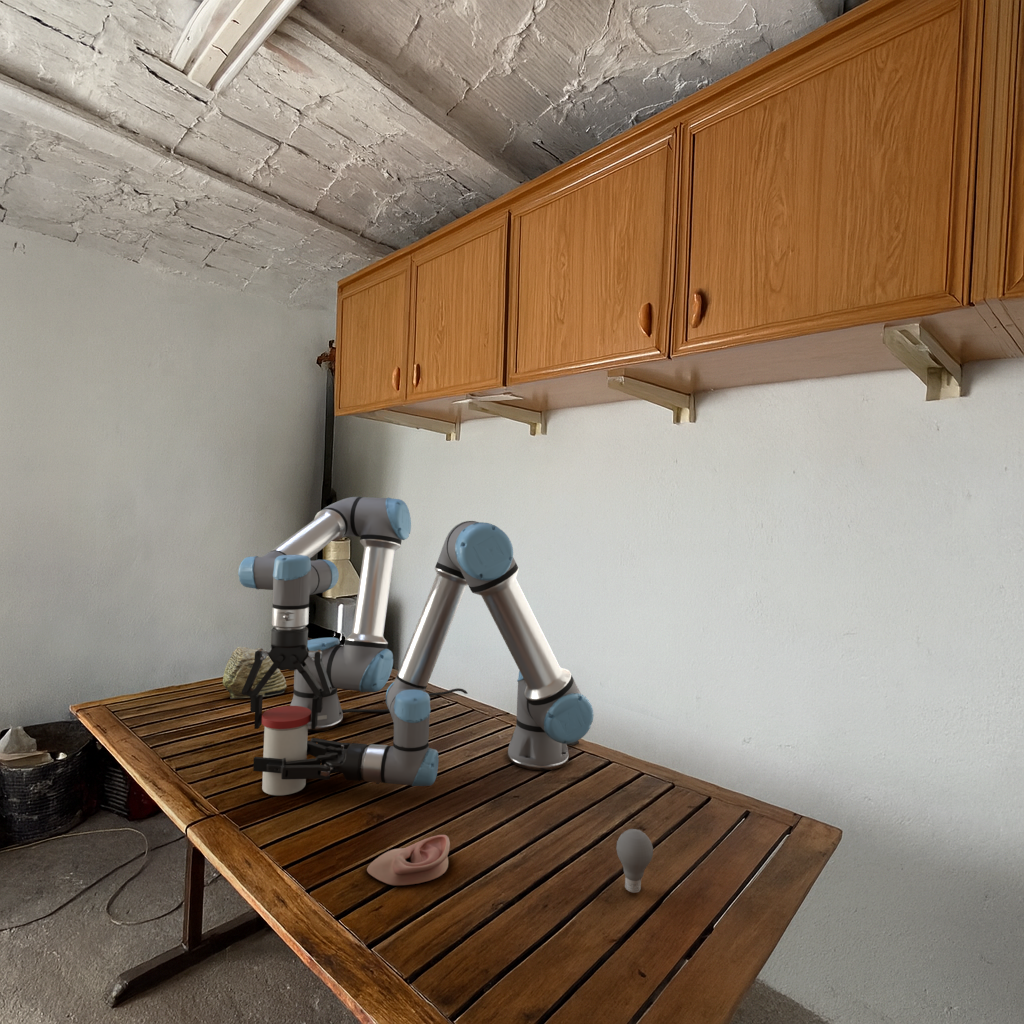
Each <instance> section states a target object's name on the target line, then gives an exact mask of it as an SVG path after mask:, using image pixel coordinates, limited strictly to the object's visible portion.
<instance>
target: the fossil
mask: <svg viewBox="0 0 1024 1024" xmlns="http://www.w3.org/2000/svg"><path fill="white" fill-rule="evenodd" d="M259 649H262V648H260V647H258V648H251V647H247V646H246V647H245V646H238V647H237V648H236V649H235V650H233V651H232V653H231V656H230V657H229V659H228V660H227V663H226V666H225V668H224V671H223V675H222V676H223V677H222V685H223V687H224V688H225V690H226V691H228V693H229V698H230V699H251V698H250V696H248V695H243V694H242V690H243V687H244V685H245V683H246V680H247V678H248V675H249V673H250V671H251V668H252V666H253V664H254V660H255V652H256V651H257V650H259ZM272 664H273V662H272V660H271V659H270V657H269V656H267V657H266V659H265V660H263V662H262V664H261V667H260V669H259V671H258V674H257V676H256V678H255V681H254V683H253V685H252V689H255V687H256V686H257V685H258V683H259V682H260V681H261V679H262V678H263V677H264V675H265V674H266V673H267V671H268V670H269V668H270V667H271V666H272ZM287 687H288V686H287V680H286V678H285V676H284V674H283V673H282V672H281V670H280V669H278V668H277V670H276V671H275V672H274V674H273V675H272V676H271V678H270V679H269V680H268V682H267V683H266V684H265V686H264V687H263V688H262V690H261V691H260V693H259V694H258V695H263V698H264V697H271V696H275V695H281V694H284V693H285V691H286V689H287Z"/></svg>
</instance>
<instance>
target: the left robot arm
mask: <svg viewBox="0 0 1024 1024" xmlns="http://www.w3.org/2000/svg"><path fill="white" fill-rule="evenodd" d="M411 531H412V517H411V512H410V509H409V507H408V505H407V503H406V502H405V501H404V500H402V499H400V498H391V497H370V496H369V497H368V496H350V497H346V498H343V499H340V500H338V501H336V502H333V503H331V504H329V505H328V506H325V507H324V508H323V509H321V510H320V511H318V512H316V514H315V516H314V518H313V519H312V521H310V522H309V523H307V524H306V525H304V526H303V527H302V528H300V529H299V530H298V531H296V532H295V533H293V534H292V535H290V536H289V537H288V538H286V539H284V541H282V542H281V543H279V544H278V545H277V546H275V547H273V548H272V549H271V550H270V551H268V552H267V553H266V554H264V555H262V556H259V555H255V556H246V557H244V558H243V559H242V561H241V562H240V564H239V566H238V574H237V575H238V581H239V582H240V585H242V586H243V587H244V588H249V589H255V590H267V591H272V607H271V625H272V629H270V631H271V632H270V633H271V634H270V648H269V649H263V648H261V649H259V650H257V651H256V652H255V660H254V664H253V666H252V668H251V671H250V673H249V675H248V678H247V680H246V683H245V685H244V687H243V690H242V694H243V695H248V696H250V698H249V699H250V703H249V704H250V706H249V707H250V708H249V709H250V712H251V713H254V725H253V726H254V728H253V729H254V730H258V729H259V728H261V726H262V714H263V699H264V697H263V695H258V694H259V693H260V691H261V690H262V688H263V687H264V686H265V684H266V683H267V682H268V680H269V679H270V678H271V676H272V675H273V674H274V672H275V671H276V670H277V668H278V669H279V670H280V671H286V670H287V671H294V672H293V695H292V696H293V697H292V699H291V702H290V704H289V706H301V707H305V708H308V709H310V710H311V721H310V722H309V723H308V733H316V732H325V731H329V730H332V729H335V728H337V727H339V726H340V725H342V723H343V722H344V714H343V713H378V714H379V713H380V714H382V713H390V711H389V709H388V708H386V709H384V708H383V709H374V708H373V709H370V708H369V709H367V708H365V709H361V708H360V709H359V708H358V709H357V708H348V709H347V708H345V709H343V708H342V706H341V702H340V699H339V695H338V689H339V690H347V691H354V692H356V691H357V692H360V693H377V692H379V691H381V690H382V689H383V688H384V687H385V685H386V684H387V683H388V681H389V679H390V676H391V674H392V670H393V666H394V654H393V651H392V650H390V649H389V648H388V644H389V642H388V641H387V639H385V637H384V632H385V625H386V618H387V611H388V605H389V604H388V603H389V596H390V589H391V580H392V573H393V566H394V561H395V560H394V559H395V553H396V551H398V550H399V549H400V548H401V547H402V541H405V540H407V539H408V538H409V537H410V534H411ZM346 537H357V538H359V543H360V544H361V546H362V547H363V553H362V561H361V568H360V575H359V582H358V588H357V595H356V602H355V609H354V615H353V622H352V628H351V633H350V634H349V635H348V636H347V637H345V639H344V643H343V645H342V644H340V643H341V641H340V639H339V638H338V637H334V636H333V637H318V638H313V639H309V628H308V625H309V618H310V617H309V615H310V613H309V612H310V596H312V595H317V594H323V593H325V592H327V591H330V590H331V589H333V588H334V587H335V586H336V585H337V583H338V581H339V577H340V573H339V569H338V567H337V566H336V564H335V563H334V562H332V561H331V560H328V559H316V560H311V558H313V557H314V556H315V555H317V553H319V552H320V551H322V550H323V549H324V548H325V547H326V546H328V545H329V544H330V543H332V542H336V541H339V540H341V539H343V538H346ZM267 656H269V658H270V659H271V660H272V662H273V664H272V666H271V667H270V668H269V670H268V671H267V673H266V674H265V675H264V677H263V678H262V679H261V681H260V682H259V683H258V685H257V686H256V687H255V689H252V685H253V683H254V681H255V678H256V676H257V674H258V671H259V669H260V667H261V664H262V662H263V660H265V659H266V657H267ZM453 692H454V693H455V692H461V693H463V694H464V695H467V694H468V691H467V690H465V689H463V688H460V687H459V688H457V687H456V688H452V689H448V690H445V691H438V692H427V693H428V694H429V696H430V697H433V696H442V695H444V696H445V695H447V694H451V693H453Z"/></svg>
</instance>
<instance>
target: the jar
mask: <svg viewBox="0 0 1024 1024" xmlns="http://www.w3.org/2000/svg"><path fill="white" fill-rule="evenodd" d="M263 728H264V729H263V753H262V755H263V756H262V757H264V758H277V759H284V758H286V761H295V760H304V759H308V755H307V741H308V737H309V736H308V734H309V732H308V723H307V724H306V725H303V726H300V727H296V728H290V729H273V728H268V727H265V726H263ZM261 782H262V783H261V785H262V786H261V790H262V791H263V792H264V793H265V794H268V795H269V796H270V795H271V796H287V795H292V794H295V793H298V792H300V791H302V790H303V789H304V788H305V787H306V785H307V779H281V773H272V772H262V781H261Z"/></svg>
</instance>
